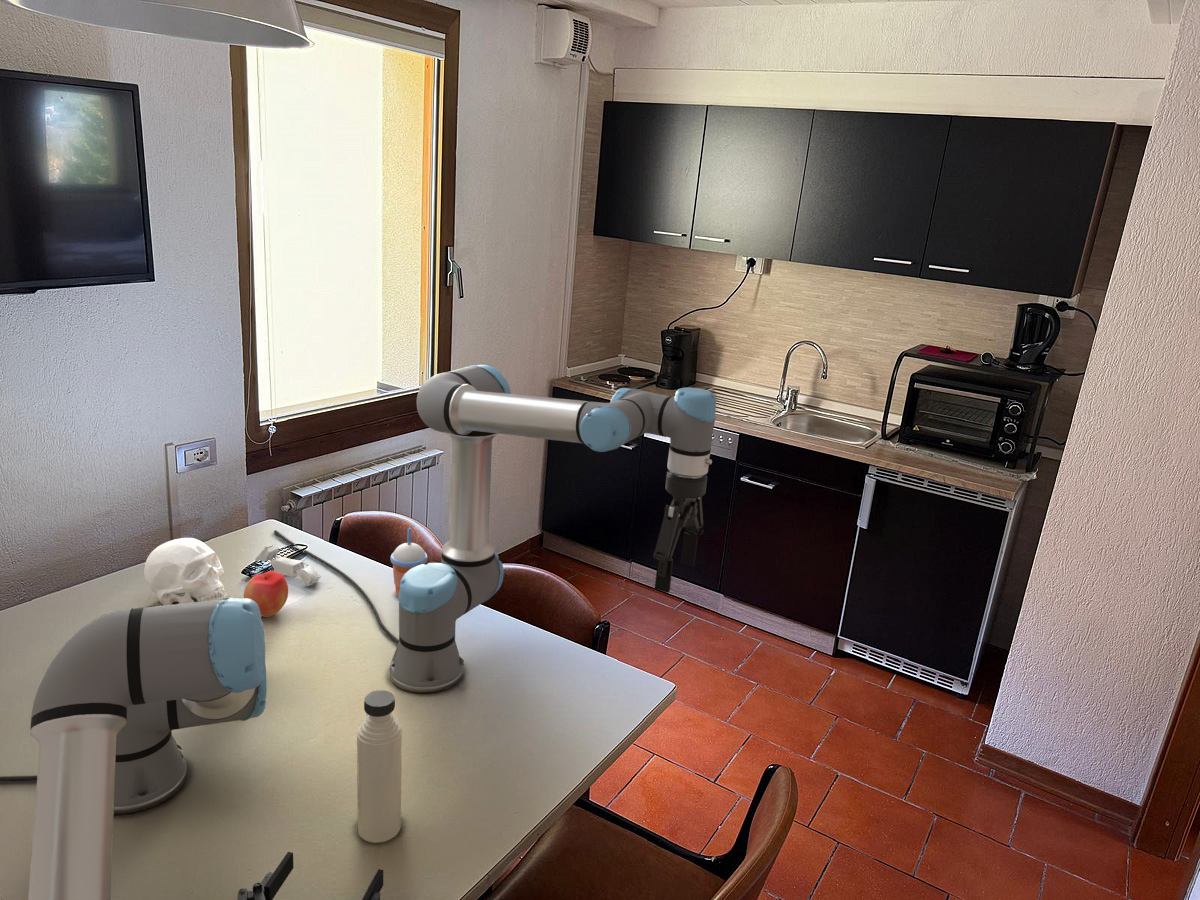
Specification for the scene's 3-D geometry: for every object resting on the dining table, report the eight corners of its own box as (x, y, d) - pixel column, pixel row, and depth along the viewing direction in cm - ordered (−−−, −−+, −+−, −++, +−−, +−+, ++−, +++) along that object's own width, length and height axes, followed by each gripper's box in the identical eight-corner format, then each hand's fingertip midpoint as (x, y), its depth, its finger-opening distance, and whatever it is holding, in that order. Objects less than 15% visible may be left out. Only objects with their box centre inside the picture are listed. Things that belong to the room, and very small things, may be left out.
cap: (400, 711, 132) (400, 701, 132) (371, 720, 129) (371, 710, 129) (386, 696, 135) (386, 686, 135) (359, 705, 133) (359, 695, 132)
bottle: (408, 831, 139) (409, 704, 132) (368, 849, 134) (368, 718, 127) (389, 807, 144) (390, 683, 136) (350, 823, 139) (349, 696, 132)
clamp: (253, 565, 223) (254, 542, 221) (265, 560, 226) (266, 537, 224) (309, 593, 215) (310, 569, 213) (320, 588, 218) (321, 564, 216)
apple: (273, 600, 207) (272, 562, 204) (297, 613, 202) (296, 575, 199) (237, 614, 200) (234, 575, 197) (261, 628, 194) (259, 588, 191)
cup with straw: (418, 605, 211) (419, 537, 205) (383, 599, 212) (384, 532, 207) (432, 589, 219) (433, 524, 214) (399, 583, 221) (399, 519, 215)
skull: (210, 625, 194) (208, 560, 190) (132, 605, 200) (128, 542, 195) (250, 602, 206) (248, 540, 202) (175, 584, 212) (172, 524, 208)
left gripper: (161, 1004, 104) (255, 873, 124) (355, 1046, 101) (419, 905, 121) (156, 956, 102) (252, 831, 122) (354, 998, 99) (419, 862, 119)
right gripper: (682, 495, 145) (669, 607, 151) (727, 459, 167) (714, 559, 173) (642, 486, 148) (631, 596, 154) (691, 452, 170) (679, 550, 176)
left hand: (335, 868), depth 122 cm, fingers open, 13 cm apart
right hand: (675, 577), depth 164 cm, fingers open, 13 cm apart
